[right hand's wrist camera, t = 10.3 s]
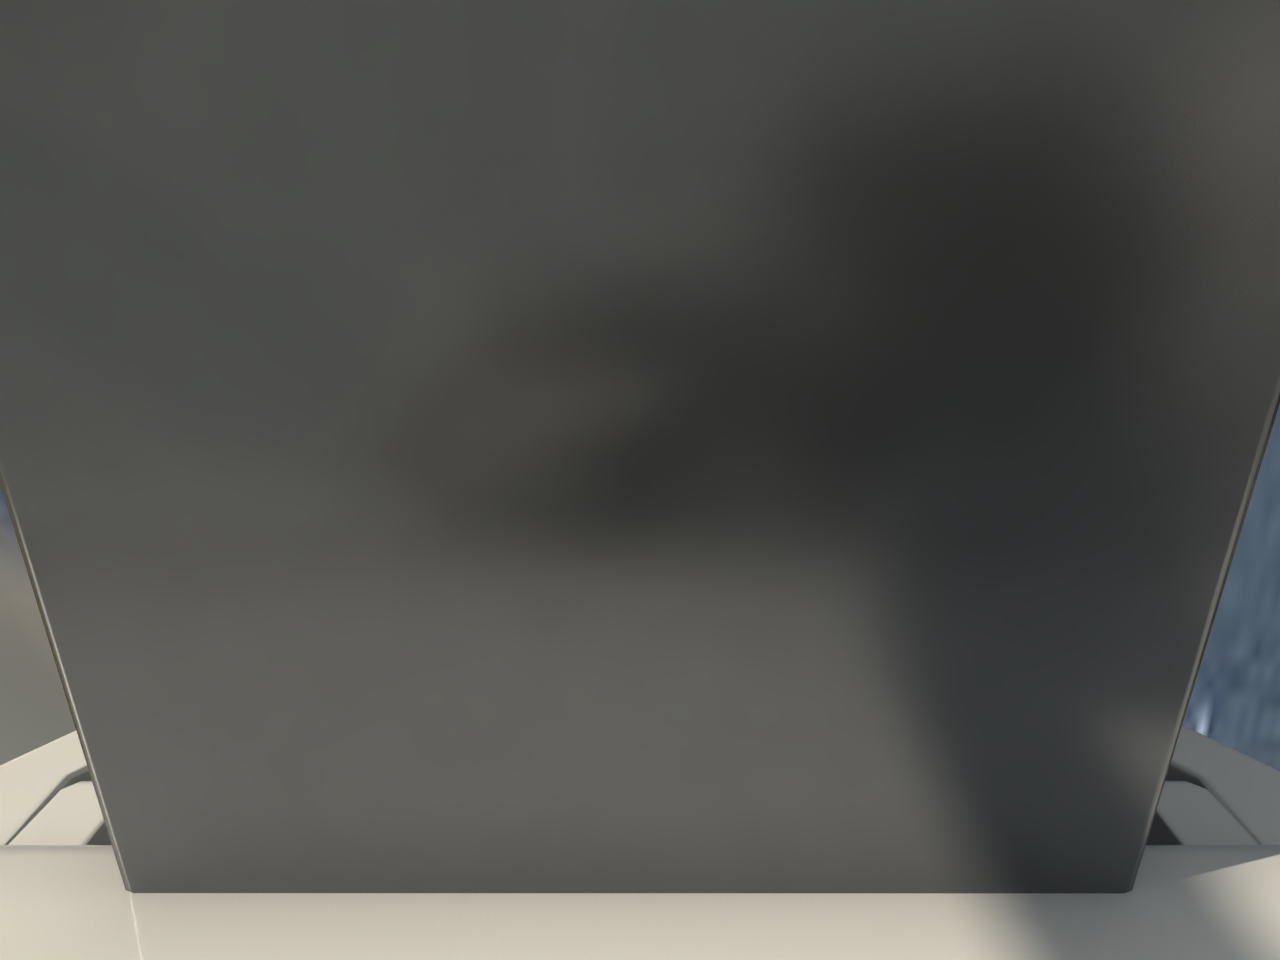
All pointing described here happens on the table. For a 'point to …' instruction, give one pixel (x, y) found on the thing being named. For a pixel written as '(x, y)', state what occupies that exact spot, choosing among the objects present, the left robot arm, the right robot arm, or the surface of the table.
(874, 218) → the bar
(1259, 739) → the table surface
